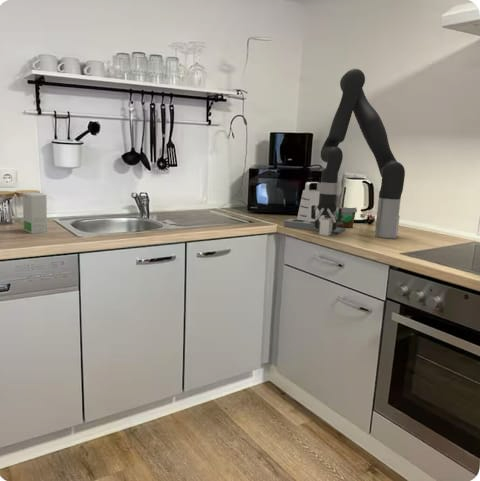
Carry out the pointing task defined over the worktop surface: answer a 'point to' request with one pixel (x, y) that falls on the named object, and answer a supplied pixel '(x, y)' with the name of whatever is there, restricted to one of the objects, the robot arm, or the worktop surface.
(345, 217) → the food container
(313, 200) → the grater
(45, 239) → the worktop surface
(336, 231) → the phone
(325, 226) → the block
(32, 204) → the skincare box
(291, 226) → the power strip
